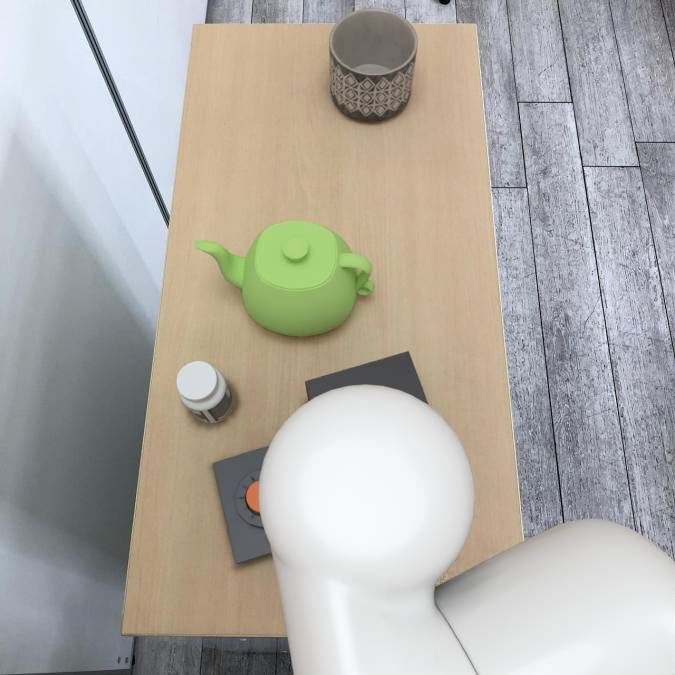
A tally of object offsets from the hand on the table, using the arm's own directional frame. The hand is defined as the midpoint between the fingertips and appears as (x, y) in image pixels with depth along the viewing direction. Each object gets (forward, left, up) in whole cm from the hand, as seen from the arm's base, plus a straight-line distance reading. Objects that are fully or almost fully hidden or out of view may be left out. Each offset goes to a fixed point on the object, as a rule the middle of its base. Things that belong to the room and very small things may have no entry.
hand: (352, 542), depth 49 cm
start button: (+9, +8, -23) cm, 26 cm away
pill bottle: (+23, +11, -27) cm, 37 cm away
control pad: (+9, +8, -27) cm, 30 cm away
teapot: (+35, -3, -27) cm, 44 cm away
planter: (+65, -24, -27) cm, 74 cm away
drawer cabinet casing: (+12, -7, -27) cm, 30 cm away
